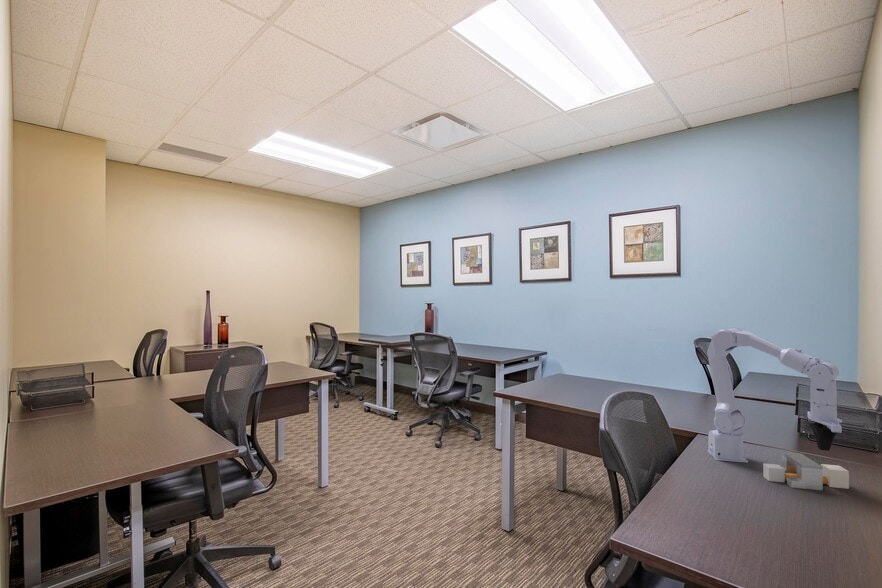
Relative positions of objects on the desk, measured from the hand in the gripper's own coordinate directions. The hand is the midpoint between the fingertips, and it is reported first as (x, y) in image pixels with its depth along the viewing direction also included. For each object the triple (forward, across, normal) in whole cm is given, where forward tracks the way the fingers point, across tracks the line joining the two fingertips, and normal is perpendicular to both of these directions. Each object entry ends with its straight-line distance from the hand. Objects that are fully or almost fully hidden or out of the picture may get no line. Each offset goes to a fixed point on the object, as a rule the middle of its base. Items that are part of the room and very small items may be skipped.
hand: (823, 449), depth 121 cm
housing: (+10, -1, +7) cm, 12 cm away
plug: (+10, -1, +5) cm, 11 cm away
